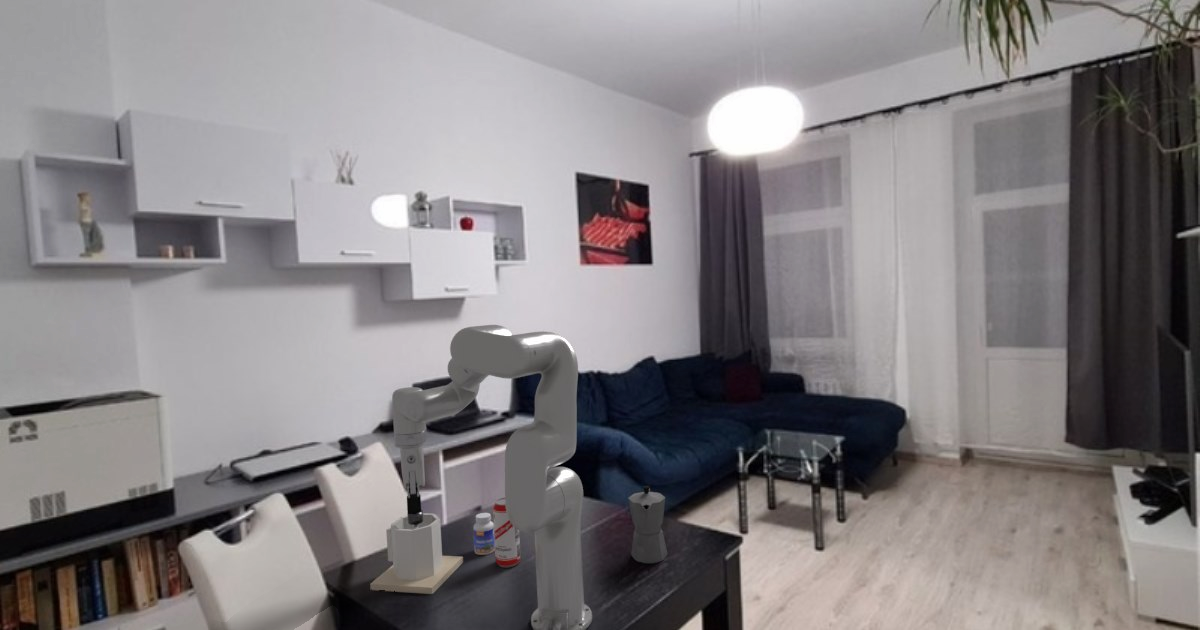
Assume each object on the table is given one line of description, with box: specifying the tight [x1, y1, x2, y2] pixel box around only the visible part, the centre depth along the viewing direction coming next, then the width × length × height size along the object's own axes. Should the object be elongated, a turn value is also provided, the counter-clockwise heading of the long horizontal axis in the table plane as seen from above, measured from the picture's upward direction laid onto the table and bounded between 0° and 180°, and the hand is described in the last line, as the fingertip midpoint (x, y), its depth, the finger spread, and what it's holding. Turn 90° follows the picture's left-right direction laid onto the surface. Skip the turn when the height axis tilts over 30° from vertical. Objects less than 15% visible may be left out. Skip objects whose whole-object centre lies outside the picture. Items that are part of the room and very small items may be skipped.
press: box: [369, 512, 464, 595], centre depth 143 cm, size 16×16×14 cm
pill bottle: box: [473, 512, 495, 556], centre depth 156 cm, size 5×5×10 cm
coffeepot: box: [627, 485, 668, 564], centre depth 149 cm, size 15×9×18 cm, turn 174°
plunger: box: [406, 509, 424, 529], centre depth 143 cm, size 8×8×14 cm
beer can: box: [492, 497, 522, 568], centre depth 148 cm, size 6×6×16 cm
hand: (414, 512), depth 143 cm, fingers closed
